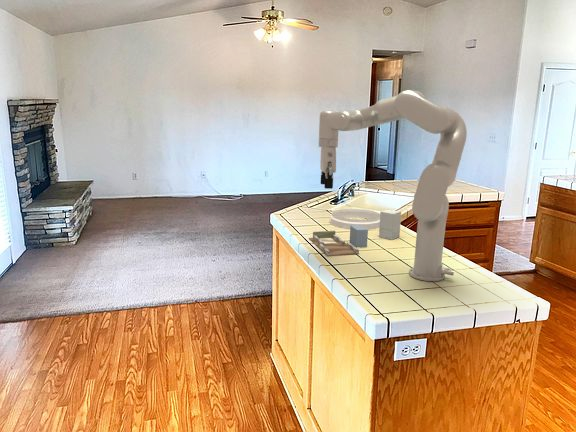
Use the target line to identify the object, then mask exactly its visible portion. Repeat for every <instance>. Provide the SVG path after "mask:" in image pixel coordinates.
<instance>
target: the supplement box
mask: <svg viewBox="0 0 576 432" xmlns="http://www.w3.org/2000/svg"><path fill="white" fill-rule="evenodd" d="M379 214H380V227H379V228H378V232H379V233H378V238H381V239H387V240H390V241H391V240H395V239H398V238H400V235H401V221H402V219H401V217H402V211H400V210H393V209H389V208H388V209H384V210H380V212H379Z"/></svg>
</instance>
